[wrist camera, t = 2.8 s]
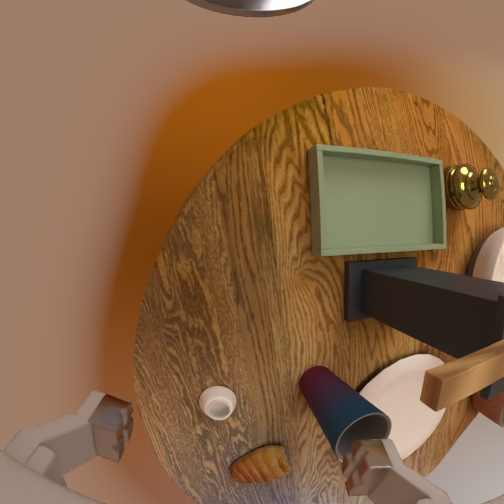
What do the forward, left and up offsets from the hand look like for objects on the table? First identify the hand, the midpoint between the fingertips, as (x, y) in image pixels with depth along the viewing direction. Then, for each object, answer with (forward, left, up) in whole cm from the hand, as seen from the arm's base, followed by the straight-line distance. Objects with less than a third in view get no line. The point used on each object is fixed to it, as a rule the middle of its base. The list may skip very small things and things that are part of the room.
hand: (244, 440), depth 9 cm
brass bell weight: (-14, +40, -29) cm, 51 cm away
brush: (+1, +18, -3) cm, 19 cm away
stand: (+1, +24, -29) cm, 38 cm away
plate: (+25, +30, -29) cm, 49 cm away
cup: (+14, +14, -29) cm, 35 cm away
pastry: (+28, +6, -29) cm, 41 cm away
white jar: (+15, 0, -29) cm, 33 cm away
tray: (-11, +24, -29) cm, 39 cm away
